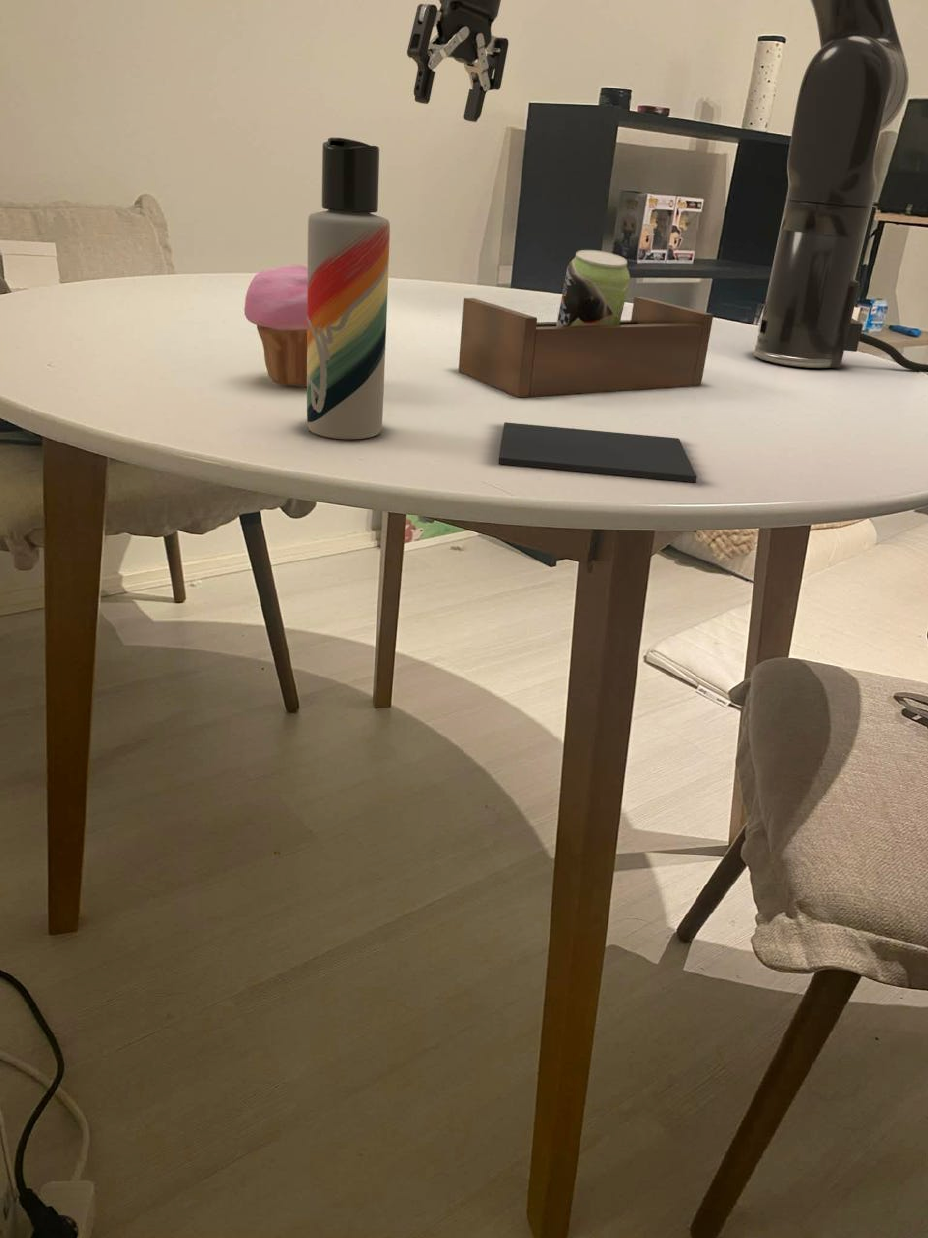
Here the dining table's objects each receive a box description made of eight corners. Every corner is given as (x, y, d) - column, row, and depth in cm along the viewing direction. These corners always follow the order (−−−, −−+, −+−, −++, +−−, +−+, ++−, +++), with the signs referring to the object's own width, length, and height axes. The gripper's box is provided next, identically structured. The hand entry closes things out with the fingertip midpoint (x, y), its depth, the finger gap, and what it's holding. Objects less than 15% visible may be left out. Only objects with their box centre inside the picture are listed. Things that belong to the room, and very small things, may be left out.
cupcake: (349, 395, 84) (352, 274, 80) (246, 393, 83) (243, 268, 78) (339, 372, 92) (342, 260, 88) (245, 369, 90) (242, 255, 86)
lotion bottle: (291, 429, 74) (290, 133, 65) (338, 416, 78) (343, 137, 69) (351, 445, 71) (359, 139, 62) (396, 430, 76) (409, 143, 67)
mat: (678, 444, 78) (679, 438, 78) (695, 482, 69) (696, 475, 69) (503, 428, 79) (504, 421, 78) (498, 464, 70) (499, 457, 69)
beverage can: (582, 368, 103) (597, 247, 97) (629, 384, 97) (648, 256, 92) (534, 372, 99) (547, 246, 94) (580, 388, 94) (597, 256, 89)
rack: (458, 371, 97) (463, 297, 94) (633, 362, 108) (642, 296, 105) (518, 397, 89) (526, 317, 86) (701, 385, 100) (713, 314, 97)
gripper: (453, -55, 113) (423, 99, 119) (536, -11, 123) (504, 129, 129) (413, -54, 118) (386, 94, 124) (496, -12, 128) (467, 123, 134)
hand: (446, 111), depth 126 cm, fingers open, 8 cm apart
